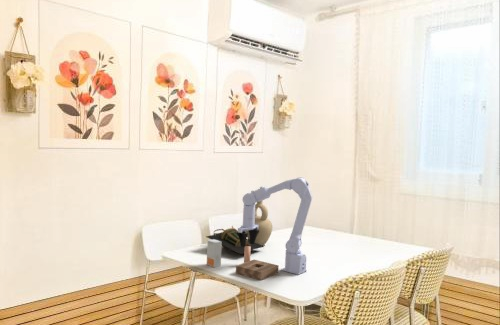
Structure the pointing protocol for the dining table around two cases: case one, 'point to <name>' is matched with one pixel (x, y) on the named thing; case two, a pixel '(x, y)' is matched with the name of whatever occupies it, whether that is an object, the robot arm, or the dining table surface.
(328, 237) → the dining table surface
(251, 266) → the socket block
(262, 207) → the vase
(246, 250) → the peg
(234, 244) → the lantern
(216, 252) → the skincare box
